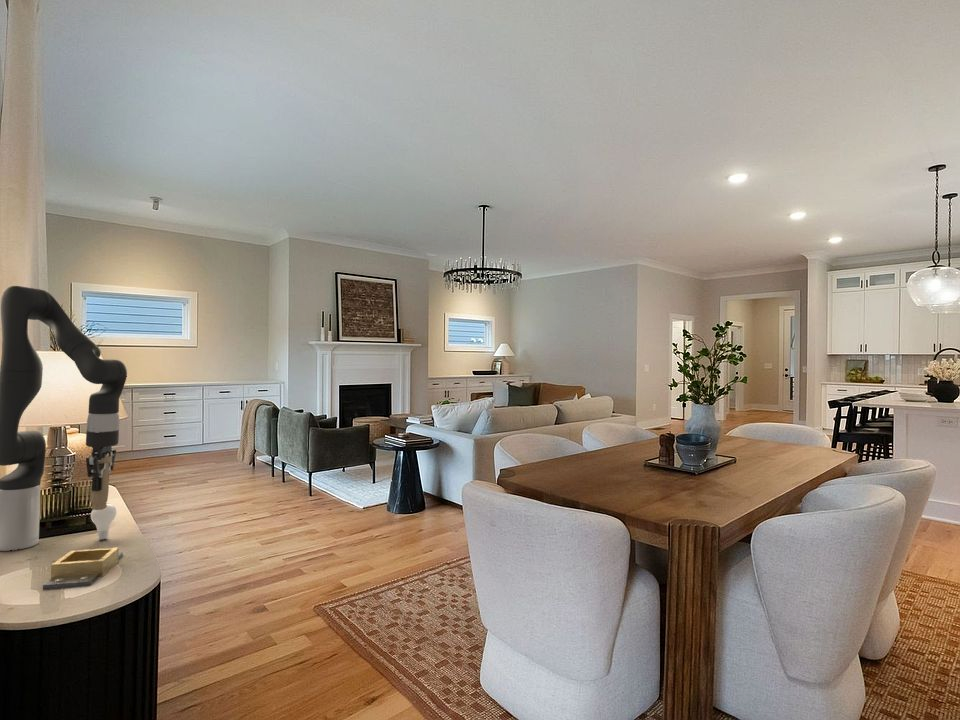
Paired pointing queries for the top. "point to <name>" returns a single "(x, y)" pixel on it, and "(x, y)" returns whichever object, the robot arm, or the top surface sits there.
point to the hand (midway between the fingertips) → (100, 488)
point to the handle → (102, 496)
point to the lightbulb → (103, 520)
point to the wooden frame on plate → (82, 567)
